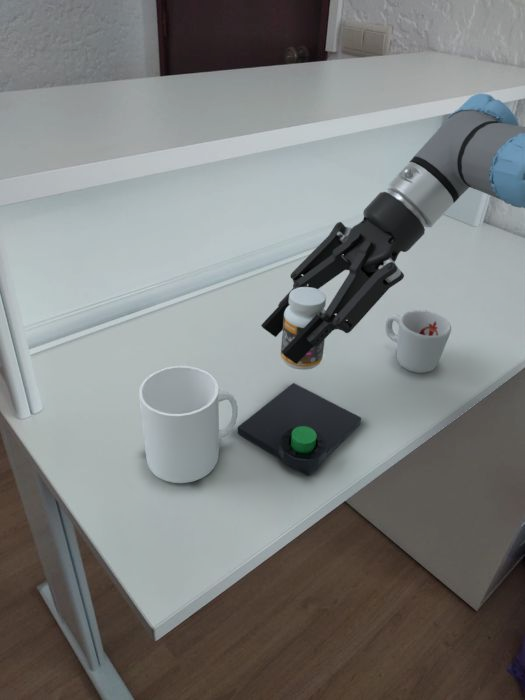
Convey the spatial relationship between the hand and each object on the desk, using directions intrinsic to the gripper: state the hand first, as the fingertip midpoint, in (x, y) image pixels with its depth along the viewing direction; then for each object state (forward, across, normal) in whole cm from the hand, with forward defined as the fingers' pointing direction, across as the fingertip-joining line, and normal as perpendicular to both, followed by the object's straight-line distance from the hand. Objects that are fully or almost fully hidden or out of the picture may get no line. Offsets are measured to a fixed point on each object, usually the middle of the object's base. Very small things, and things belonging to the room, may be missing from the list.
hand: (278, 343), depth 76 cm
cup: (-10, -5, +28) cm, 30 cm away
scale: (+7, +3, +11) cm, 14 cm away
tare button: (+7, +9, +7) cm, 13 cm away
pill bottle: (0, 0, +5) cm, 5 cm away
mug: (+19, +3, 0) cm, 19 cm away
